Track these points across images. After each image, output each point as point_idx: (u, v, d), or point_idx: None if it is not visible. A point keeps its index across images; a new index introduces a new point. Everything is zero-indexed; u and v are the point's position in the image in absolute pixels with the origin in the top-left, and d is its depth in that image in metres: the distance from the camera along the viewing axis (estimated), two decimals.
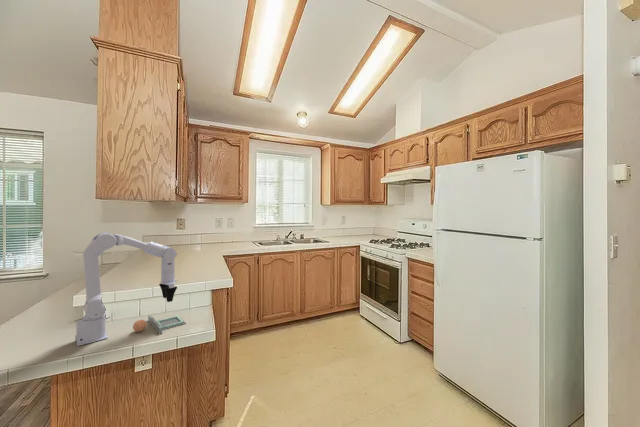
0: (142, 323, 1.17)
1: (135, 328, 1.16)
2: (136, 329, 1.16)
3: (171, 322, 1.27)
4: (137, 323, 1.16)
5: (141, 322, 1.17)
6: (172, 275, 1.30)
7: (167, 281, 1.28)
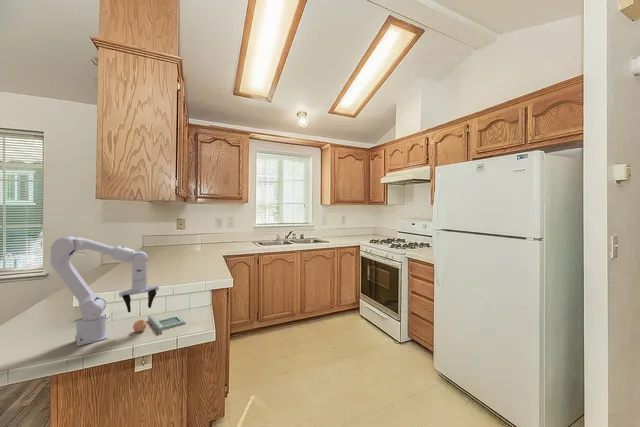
0: (142, 323, 1.17)
1: (135, 328, 1.16)
2: (136, 329, 1.16)
3: (171, 322, 1.27)
4: (137, 323, 1.16)
5: (141, 322, 1.17)
6: (133, 284, 1.16)
7: (131, 289, 1.17)
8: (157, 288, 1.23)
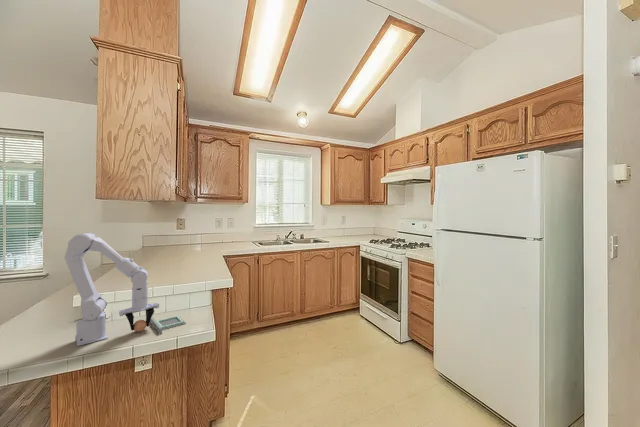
0: (142, 323, 1.17)
1: (135, 328, 1.16)
2: (136, 329, 1.16)
3: (171, 322, 1.27)
4: (137, 323, 1.16)
5: (141, 322, 1.17)
6: (133, 302, 1.15)
7: (132, 307, 1.17)
8: (157, 306, 1.22)
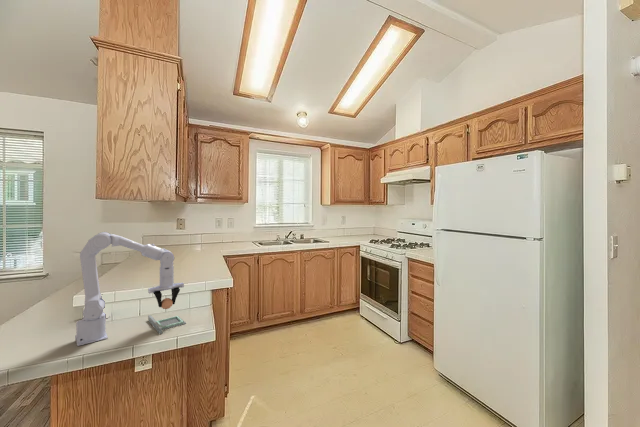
0: (169, 301, 1.24)
1: (163, 305, 1.23)
2: (164, 306, 1.23)
3: (171, 322, 1.27)
4: (164, 301, 1.24)
5: (168, 299, 1.25)
6: (161, 281, 1.23)
7: None
8: (182, 285, 1.29)
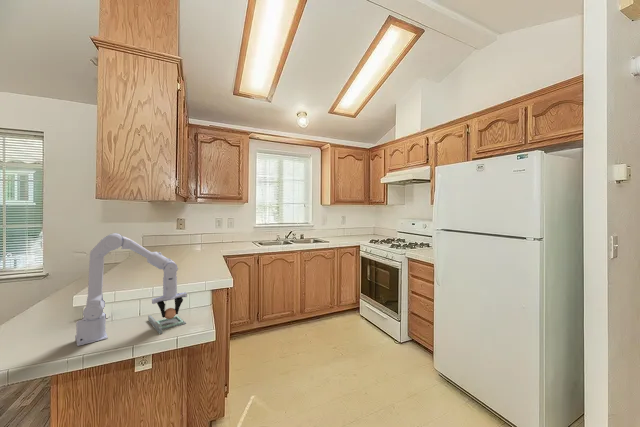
0: (172, 311, 1.25)
1: (166, 315, 1.24)
2: (167, 316, 1.24)
3: (171, 322, 1.27)
4: (168, 311, 1.25)
5: (171, 309, 1.26)
6: (165, 291, 1.24)
7: (162, 296, 1.25)
8: (185, 295, 1.31)
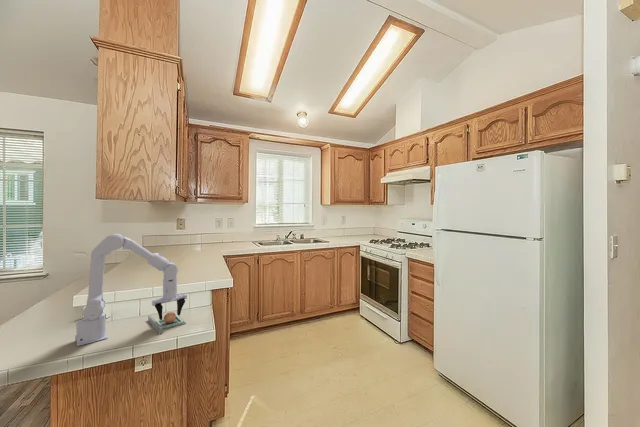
0: (172, 315, 1.25)
1: (166, 320, 1.24)
2: (167, 321, 1.24)
3: None
4: (168, 315, 1.25)
5: (171, 314, 1.26)
6: (165, 293, 1.24)
7: None
8: (185, 297, 1.31)
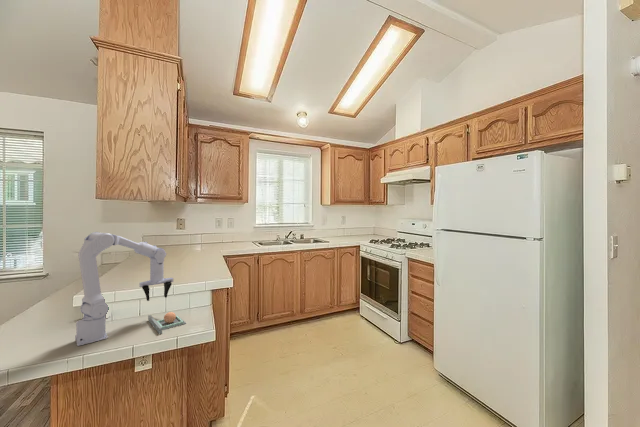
0: (172, 315, 1.25)
1: (166, 320, 1.24)
2: (167, 321, 1.24)
3: None
4: (167, 315, 1.25)
5: (171, 314, 1.26)
6: (152, 276, 1.31)
7: (150, 280, 1.32)
8: (172, 280, 1.38)
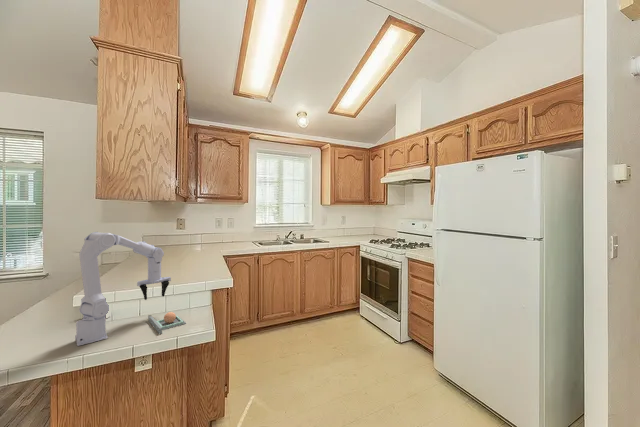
0: (172, 315, 1.25)
1: (166, 320, 1.24)
2: (167, 321, 1.24)
3: None
4: (167, 315, 1.25)
5: (171, 314, 1.26)
6: (149, 275, 1.32)
7: None
8: (169, 279, 1.39)
